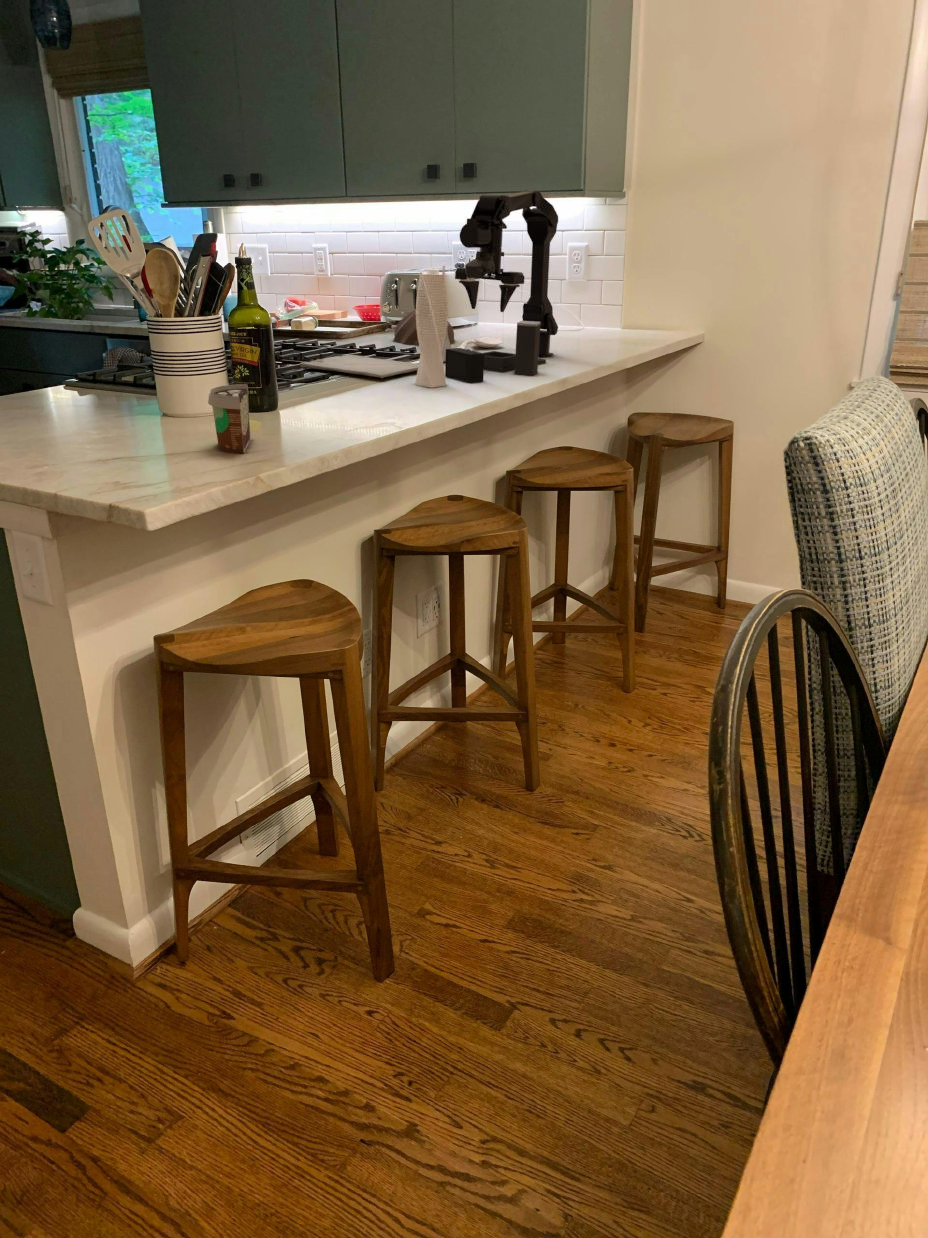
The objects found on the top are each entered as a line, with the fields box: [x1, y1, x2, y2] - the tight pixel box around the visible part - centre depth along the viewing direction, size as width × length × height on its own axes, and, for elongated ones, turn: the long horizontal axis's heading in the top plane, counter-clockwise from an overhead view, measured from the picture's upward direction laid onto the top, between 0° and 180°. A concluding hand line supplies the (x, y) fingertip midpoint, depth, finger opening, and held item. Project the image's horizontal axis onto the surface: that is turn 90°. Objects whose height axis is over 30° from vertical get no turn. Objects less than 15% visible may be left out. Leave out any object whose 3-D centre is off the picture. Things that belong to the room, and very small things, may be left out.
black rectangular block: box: [444, 347, 485, 384], centre depth 234 cm, size 10×5×7 cm, turn 39°
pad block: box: [514, 320, 541, 377], centre depth 243 cm, size 5×5×13 cm
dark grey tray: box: [483, 350, 547, 373], centre depth 258 cm, size 22×16×4 cm
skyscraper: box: [415, 262, 449, 389], centre depth 221 cm, size 8×8×28 cm
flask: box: [441, 323, 452, 363], centre depth 259 cm, size 7×7×10 cm
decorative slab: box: [299, 354, 419, 379], centre depth 242 cm, size 27×21×2 cm
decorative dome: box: [393, 309, 455, 346], centre depth 293 cm, size 19×20×10 cm
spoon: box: [457, 336, 504, 349], centre depth 278 cm, size 9×32×4 cm, turn 153°
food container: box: [207, 383, 251, 454], centre depth 164 cm, size 12×6×10 cm, turn 5°
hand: (487, 310), depth 248 cm, fingers open, 9 cm apart
